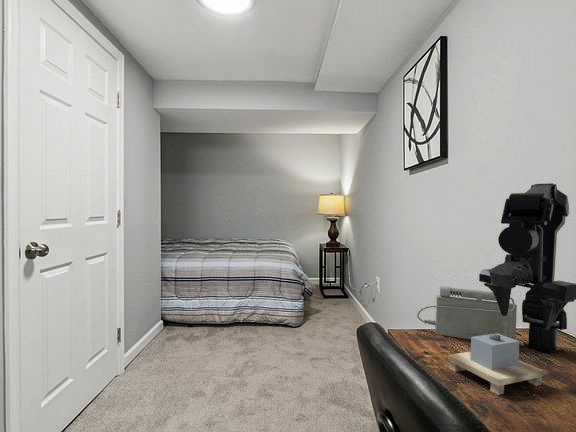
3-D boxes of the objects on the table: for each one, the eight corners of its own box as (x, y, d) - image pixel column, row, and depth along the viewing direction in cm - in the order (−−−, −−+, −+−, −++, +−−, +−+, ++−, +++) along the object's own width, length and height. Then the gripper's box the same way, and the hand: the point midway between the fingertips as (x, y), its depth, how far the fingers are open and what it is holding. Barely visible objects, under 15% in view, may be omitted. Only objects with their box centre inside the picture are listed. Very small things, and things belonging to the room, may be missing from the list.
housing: (491, 370, 69) (492, 341, 69) (470, 360, 74) (471, 333, 74) (518, 364, 72) (519, 337, 72) (496, 355, 77) (497, 329, 77)
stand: (489, 360, 81) (489, 348, 81) (543, 384, 70) (543, 370, 70) (448, 368, 76) (448, 355, 76) (498, 395, 65) (498, 380, 65)
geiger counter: (515, 291, 94) (418, 281, 105) (519, 296, 88) (417, 285, 99) (513, 341, 94) (417, 327, 105) (518, 349, 88) (415, 333, 99)
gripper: (462, 247, 80) (460, 313, 80) (546, 258, 62) (544, 343, 62) (496, 245, 83) (495, 308, 84) (585, 256, 66) (582, 335, 66)
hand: (524, 322), depth 74 cm, fingers open, 9 cm apart
